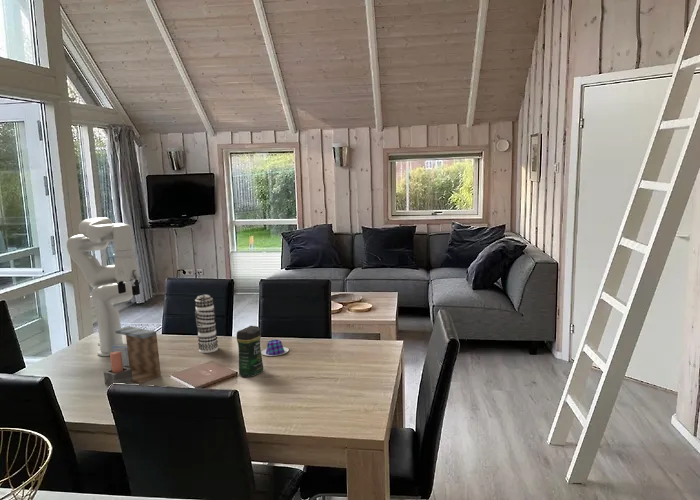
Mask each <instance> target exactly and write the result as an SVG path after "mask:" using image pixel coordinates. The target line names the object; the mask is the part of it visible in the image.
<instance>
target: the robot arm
mask: <svg viewBox="0 0 700 500" xmlns="http://www.w3.org/2000/svg"><path fill="white" fill-rule="evenodd" d="M132 229H133V228H132V226H131V224H127V223H124V222H117V223H114V222H113V221H112V220H111V218H109V217H106V216H104V217H94V218H86V219H83V220H82V221H80V223H79V224H78V232H79V233H80V234H76V235H73V236H71V237H69V238H68V239H67V241H66V249H67V253H68V254H69V256H70V258H71V260H72V261H73V262H74V263H75V264H76V265H77V266H78V268H79V270H81V273H82V275H83V277H84V278H85V280H86V282H87V284H88V285H89V287H91V288H92V290H91V299H92V301H93V305H94V309H95V313H96V315H95V316H96V322H97V329H98V330H97V331H98V338H99V343H97V346H98V347H99V348H100V349H99V350H97V351H96V352H97V355H98V356H100V357H110V353H112V346H114V345H116V344H118V343H121V344H124V343H123V335H122V334H117V333H115V330H118V329H121V328H122V325H121V317H120V311H119V310H118V309H116V308H115V307H114V305H115V304H119V303H124V302H128V301H131V300H132V299H133V297H134V296H138V295H141V291H140V290H141V289H140V285H141V282H142V281H141V280H142V275H141V274H140V273H139V270H138V264H137V261H136V257H135V256H136V255H135V247H134V238H133V237H134V236H133V230H132ZM110 242H113V248H114V256H115V258H114V264H108V265H102V264H101V263H100V261H99V260H98V258H97V257H95V256H93V255H92V254H91V253H88V252H94V251H95V252H96V251H102V250H105V249H107V247H108V246H109V245H110V244H109V243H110Z"/></svg>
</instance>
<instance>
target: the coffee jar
mask: <svg viewBox="0 0 700 500" xmlns="http://www.w3.org/2000/svg"><path fill="white" fill-rule="evenodd" d="M261 338H262V333H261V329H260V327H259V326H257V325H249V326H247V327H243V328H242V329H240V330H237V331H236V342H237V346H238V347H237V348H238V373H239V376H242V377H245V378H248V377H255V376H257V375H259V374H260V373H262V372H263V371H264V364H263V357H262V356H263V354H262V353H261V352H262V349H261Z"/></svg>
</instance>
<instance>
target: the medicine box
mask: <svg viewBox="0 0 700 500" xmlns="http://www.w3.org/2000/svg"><path fill="white" fill-rule="evenodd" d="M116 351H120V352H121V356H122V364H123V367H127V368H130V366H129V358H128V349H127V343H123V344H121V343H118V344H116V345H114V346H112V352H116Z"/></svg>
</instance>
